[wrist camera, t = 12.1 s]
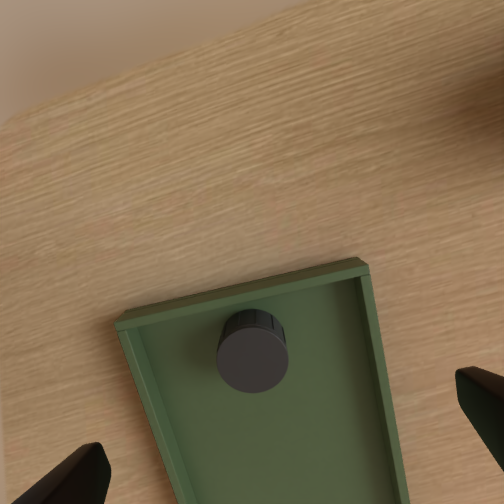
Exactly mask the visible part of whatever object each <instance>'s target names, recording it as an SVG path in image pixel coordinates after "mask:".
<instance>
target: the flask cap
mask: <svg viewBox="0 0 504 504" xmlns="http://www.w3.org/2000/svg"><path fill="white" fill-rule="evenodd" d="M216 353H217V357H216V363H217V368H218V371H219V374H220V376H221V377H222V379H223V380H224V381H225V382H226V383H227V384H228V385H229V386H231V387H232V388H234V389H236V390H238V391H241V392H244V393H261V392H265V391H268V390H270V389H272V388H273V387H275V386H276V385H277V384H279V382H280V381H281V380H282V379H283V378H284V376H285V374H286V372H287V369H288V364H289V356H288V351H287V346H286V339H285V334H284V329H283V327H282V326H281V324H280V322H279V321H278V320H277V319H276V318H275V317H274V316H273V315H271V314H270V313H268V312H266V311H263V310H259V309H246V310H242V311H239V312H238V313H236V314H234V315H233V316H231V317H230V318H229V319H228V321H226V323H225V325H224V327H223V330H222V334H221V335H220V339H219V343H218V348H217V352H216Z"/></svg>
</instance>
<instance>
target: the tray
mask: <svg viewBox="0 0 504 504" xmlns="http://www.w3.org/2000/svg"><path fill="white" fill-rule="evenodd" d="M246 309H259V310H263V311H266V312H268V313H270V314H271V315H273V316H274V317H275V318H276V319H277V320H278V321H279V322H280V324H281V326H282V327H283V329H284V334H285V339H286V346H287V351H288V356H289V364H288V369H287V372H286V374H285V376H284V378H283V379H282V380H281V381H280V382H279V384H277V385H276V386H275V387H273V388H272V389H270V390H268V391H265V392H261V393H244V392H241V391H238V390H236V389H234V388H232V387H231V386H229V385H228V384H227V383H226V382H225V381H224V380H223V379H222V377H221V376H220V374H219V371H218V368H217V363H216V357H217V353H216V352H217V348H218V343H219V339H220V335H221V334H222V330H223V327H224V325H225V323H226V321H228V319H229V318H230V317H231V316H233V315H234V314H236V313H238V312H239V311H242V310H246ZM114 326H115V329H116V331H117V334H118V337H119V340H120V343H121V346H122V348H123V351H124V354H125V357H126V360H127V362H128V365H129V368H130V371H131V373H132V376H133V379H134V382H135V385H136V387H137V390H138V393H139V396H140V399H141V401H142V404H143V407H144V410H145V413H146V415H147V418H148V421H149V424H150V427H151V429H152V432H153V435H154V438H155V441H156V443H157V446H158V449H159V452H160V455H161V457H162V460H163V463H164V466H165V469H166V471H167V474H168V477H169V480H170V483H171V485H172V488H173V491H174V494H175V497H176V499H177V502H178V504H410V500H409V494H408V488H407V482H406V477H405V471H404V465H403V459H402V454H401V448H400V442H399V437H398V431H397V425H396V419H395V414H394V408H393V402H392V396H391V391H390V385H389V379H388V373H387V368H386V362H385V356H384V350H383V345H382V339H381V333H380V328H379V322H378V316H377V310H376V305H375V299H374V293H373V287H372V282H371V276H370V271H369V265H368V264H367V263H365V262H364V261H362V260H361V259H360V258H358V257H354V258H350V259H346V260H341V261H337V262H333V263H328V264H324V265H320V266H315V267H311V268H307V269H302V270H298V271H294V272H289V273H285V274H281V275H276V276H272V277H268V278H263V279H259V280H255V281H250V282H246V283H242V284H237V285H233V286H229V287H225V288H220V289H216V290H212V291H207V292H203V293H199V294H194V295H190V296H186V297H181V298H177V299H173V300H168V301H164V302H160V303H155V304H151V305H147V306H142V307H138V308H134V309H129V310H126V311H125V312H124V313H123V314H122V315H121V316H120V317H119V318H118V319H117V320H116V321H115V322H114Z"/></svg>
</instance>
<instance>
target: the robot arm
mask: <svg viewBox="0 0 504 504" xmlns="http://www.w3.org/2000/svg"><path fill="white" fill-rule="evenodd" d="M455 379H456V388H457V397H458V402H459V404H460V407H461V409H462V410H463V412H464V413H465V415H466V416H467V418H468V419H469V421H470V422H471V424H472V425H473V427H474V428H475V430H476V431H477V433H478V434H479V436H480V437H481V439H482V440H483V442H484V443H485V445H486V446H487V448H488V449H489V451H490V452H491V454H492V455H493V457H494V458H495V460H496V461H497V463H498V464H499V466H500V467H501V469H502V470H503V471H504V377H503V376H500V375H497V374H495V373H492V372H489V371H486V370H484V369H481V368H478V367H475V366H470V367H465V368H461V369H458V370H456V372H455ZM110 479H111V466H110V464H109V461H108V459H107V456H106V454H105V451H104V449H103V446H102V445H101V444H100V443H99V442H94V443H89V444H84V445H82V446H81V447H79V448H78V449H77V450H76V451H74V452H73V453H72V454H71V455H70V456H68V457H67V458H66V459H65V460H64V461H62V462H61V463H60V464H59V465H57V466H56V467H55V468H54V469H53V470H51V471H50V472H49V473H48V474H47V475H45V476H44V477H43V478H42V479H41V480H39V481H38V482H37V483H36V484H34V485H33V486H32V487H31V488H30V489H28V490H27V491H26V492H25V493H24V494H22V495H21V496H20V497H19V498H17V499H16V500H15V501H14V502H13V503H11V504H104V502H105V498H106V494H107V491H108V487H109V483H110Z"/></svg>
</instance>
